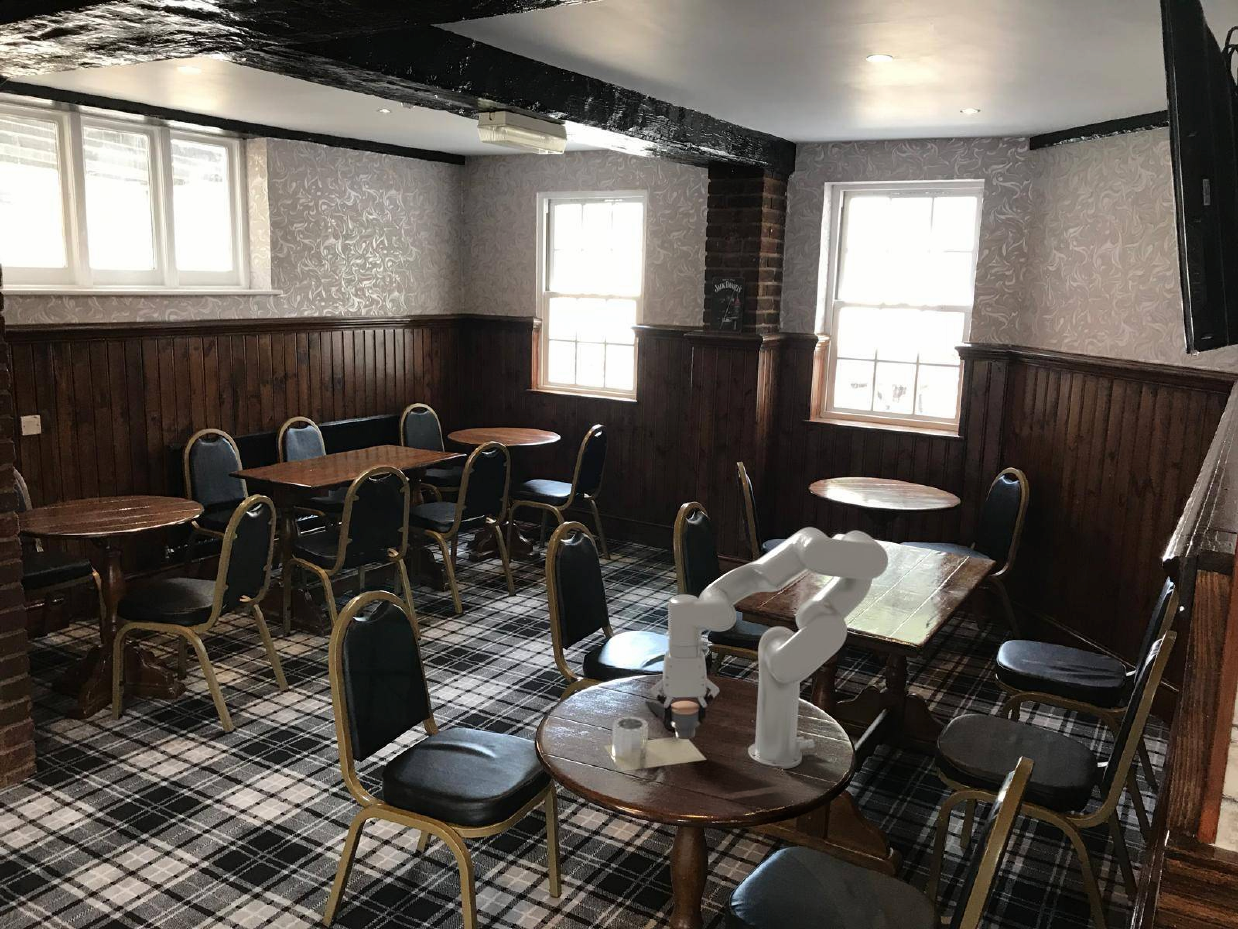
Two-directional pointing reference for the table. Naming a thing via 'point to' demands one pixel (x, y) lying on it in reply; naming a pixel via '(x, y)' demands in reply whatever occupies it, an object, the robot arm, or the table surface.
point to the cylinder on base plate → (647, 747)
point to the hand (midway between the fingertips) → (684, 720)
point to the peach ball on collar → (685, 718)
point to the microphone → (659, 714)
